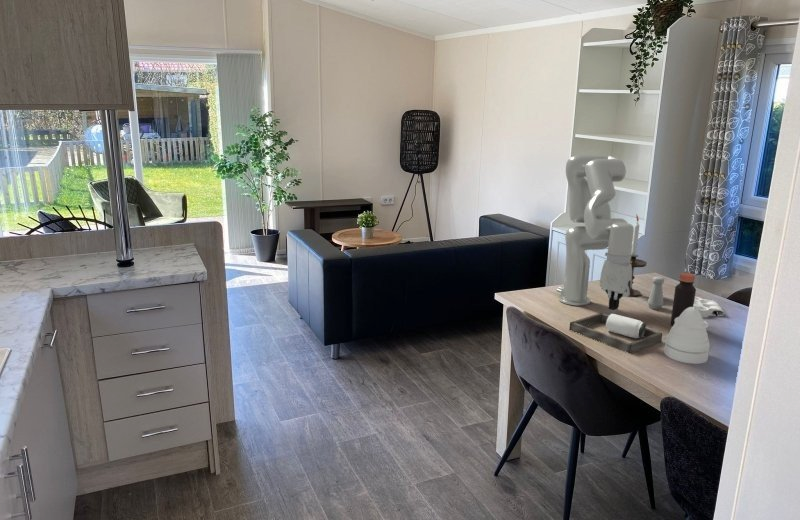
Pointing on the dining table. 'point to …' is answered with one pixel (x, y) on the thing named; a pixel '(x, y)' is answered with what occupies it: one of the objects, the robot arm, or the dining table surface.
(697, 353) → the honey pot
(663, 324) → the dining table surface
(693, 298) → the bottle
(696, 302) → the white crumpled cloth
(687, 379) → the dining table surface
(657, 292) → the salt shaker
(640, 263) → the candlestick
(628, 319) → the can
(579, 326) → the frame
